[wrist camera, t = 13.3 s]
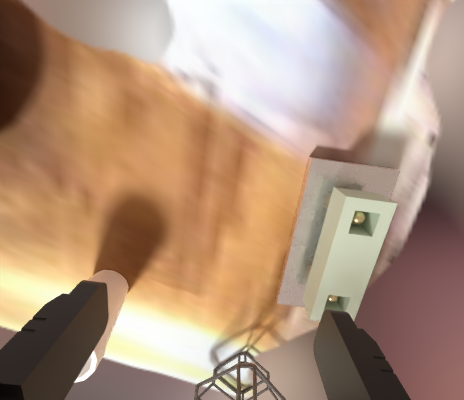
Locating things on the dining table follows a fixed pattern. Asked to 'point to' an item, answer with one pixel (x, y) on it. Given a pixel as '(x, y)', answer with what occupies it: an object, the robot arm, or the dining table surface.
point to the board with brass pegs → (323, 216)
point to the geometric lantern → (238, 392)
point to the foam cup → (116, 298)
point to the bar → (346, 251)
